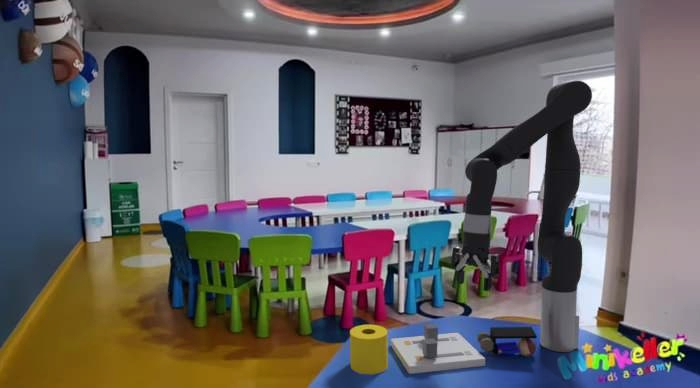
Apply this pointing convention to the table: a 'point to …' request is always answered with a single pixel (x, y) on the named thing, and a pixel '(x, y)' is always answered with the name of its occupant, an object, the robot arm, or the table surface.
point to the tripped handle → (431, 331)
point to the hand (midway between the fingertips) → (473, 287)
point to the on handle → (429, 348)
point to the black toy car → (522, 347)
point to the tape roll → (369, 349)
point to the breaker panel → (449, 354)
